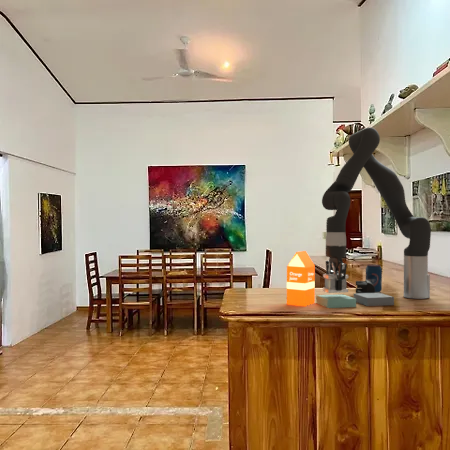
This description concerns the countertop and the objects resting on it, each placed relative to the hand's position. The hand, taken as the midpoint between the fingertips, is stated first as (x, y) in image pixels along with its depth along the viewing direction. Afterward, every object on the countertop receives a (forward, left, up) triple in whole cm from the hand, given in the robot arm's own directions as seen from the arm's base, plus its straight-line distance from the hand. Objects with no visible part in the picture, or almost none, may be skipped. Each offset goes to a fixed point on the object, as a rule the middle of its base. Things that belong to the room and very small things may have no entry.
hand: (335, 289), depth 182 cm
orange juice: (+12, -5, -6) cm, 14 cm away
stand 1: (0, 0, -6) cm, 6 cm away
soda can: (-31, -28, -6) cm, 42 cm away
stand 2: (-16, -1, -6) cm, 17 cm away
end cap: (-20, -15, -6) cm, 26 cm away
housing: (0, 0, -1) cm, 1 cm away
